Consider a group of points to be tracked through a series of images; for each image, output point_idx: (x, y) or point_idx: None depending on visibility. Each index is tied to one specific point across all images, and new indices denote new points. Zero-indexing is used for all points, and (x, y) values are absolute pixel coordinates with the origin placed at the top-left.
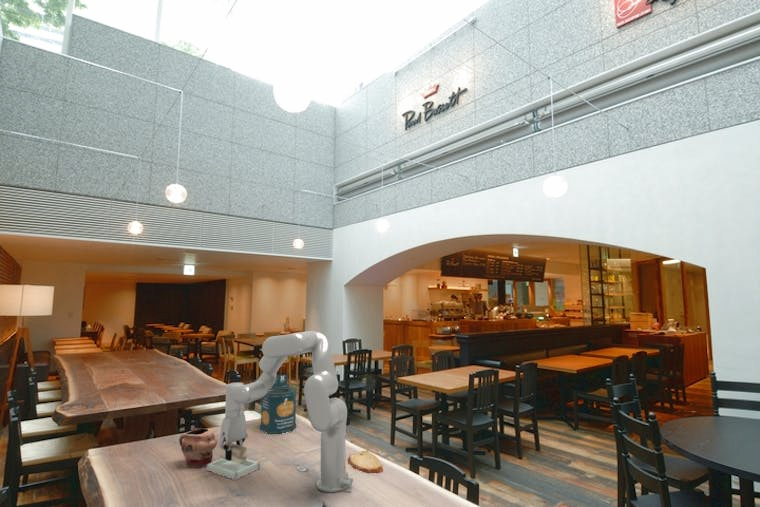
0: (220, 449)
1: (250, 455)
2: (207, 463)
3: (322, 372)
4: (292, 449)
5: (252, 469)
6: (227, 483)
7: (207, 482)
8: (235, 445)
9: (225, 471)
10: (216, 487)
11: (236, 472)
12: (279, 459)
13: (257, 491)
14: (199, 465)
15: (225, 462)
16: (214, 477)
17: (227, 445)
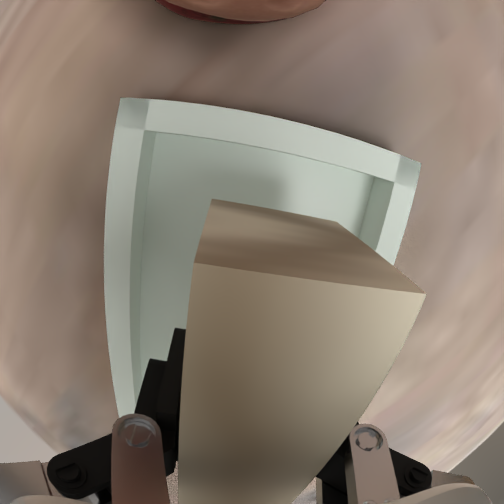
0: (204, 229)
1: (474, 236)
2: (230, 21)
3: None
4: (501, 364)
5: None
6: (88, 389)
7: (29, 286)
8: (288, 472)
9: (112, 362)
10: (38, 366)
11: None
12: (417, 405)
13: None
14: (159, 3)
15: (318, 162)
16: (83, 275)
17: (159, 480)
